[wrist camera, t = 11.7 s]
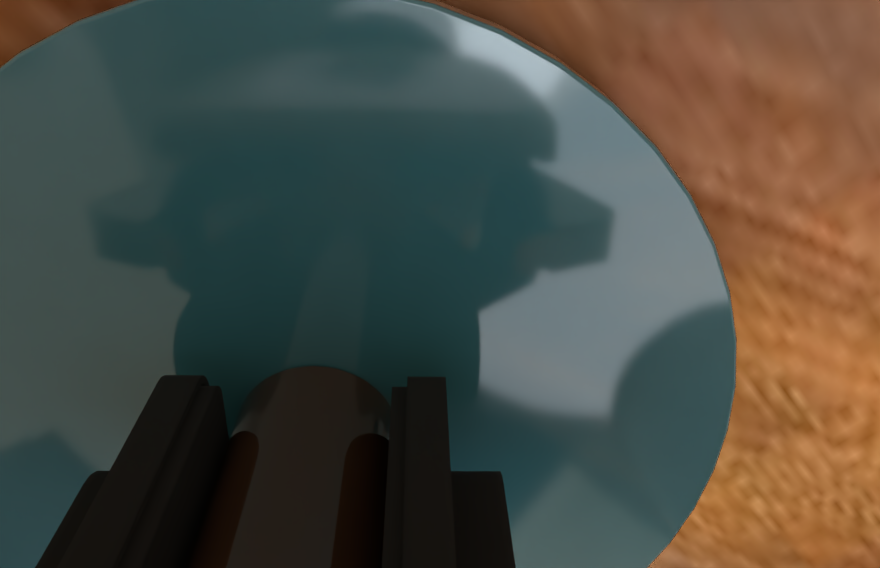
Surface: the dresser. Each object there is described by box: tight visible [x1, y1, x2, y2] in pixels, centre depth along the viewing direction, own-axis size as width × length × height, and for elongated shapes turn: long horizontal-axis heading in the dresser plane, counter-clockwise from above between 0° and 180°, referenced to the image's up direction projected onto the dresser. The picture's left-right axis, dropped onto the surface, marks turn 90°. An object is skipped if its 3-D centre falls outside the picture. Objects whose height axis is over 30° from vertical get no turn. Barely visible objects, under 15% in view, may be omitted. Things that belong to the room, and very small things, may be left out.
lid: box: [0, 0, 737, 568], centre depth 9 cm, size 13×13×7 cm
